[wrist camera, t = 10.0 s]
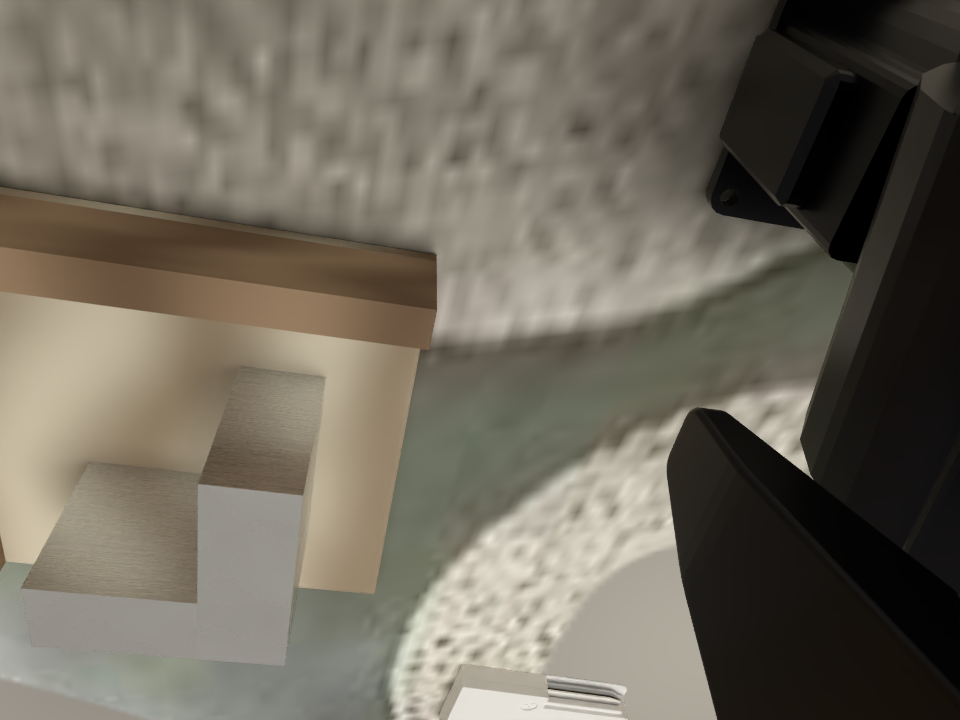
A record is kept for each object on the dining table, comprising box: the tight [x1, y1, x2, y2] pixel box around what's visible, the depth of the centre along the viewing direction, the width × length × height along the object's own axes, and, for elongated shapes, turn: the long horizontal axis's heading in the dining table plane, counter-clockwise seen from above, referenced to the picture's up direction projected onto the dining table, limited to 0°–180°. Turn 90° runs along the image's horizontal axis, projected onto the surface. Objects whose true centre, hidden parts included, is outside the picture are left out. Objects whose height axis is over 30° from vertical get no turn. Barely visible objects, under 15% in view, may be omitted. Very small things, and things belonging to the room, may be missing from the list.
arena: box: [0, 187, 437, 594], centre depth 23 cm, size 14×14×3 cm
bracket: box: [21, 366, 326, 666], centre depth 23 cm, size 7×7×5 cm
